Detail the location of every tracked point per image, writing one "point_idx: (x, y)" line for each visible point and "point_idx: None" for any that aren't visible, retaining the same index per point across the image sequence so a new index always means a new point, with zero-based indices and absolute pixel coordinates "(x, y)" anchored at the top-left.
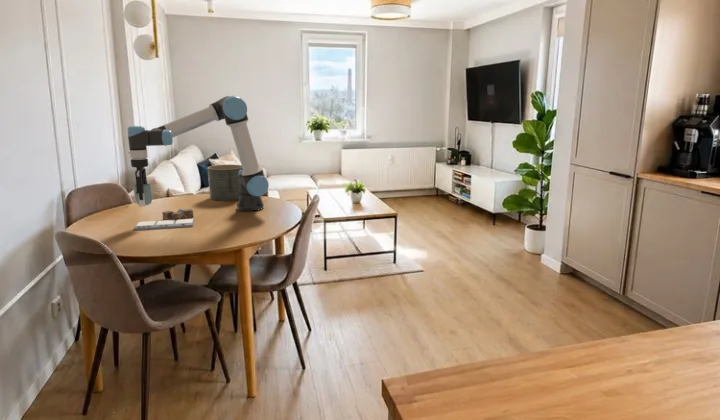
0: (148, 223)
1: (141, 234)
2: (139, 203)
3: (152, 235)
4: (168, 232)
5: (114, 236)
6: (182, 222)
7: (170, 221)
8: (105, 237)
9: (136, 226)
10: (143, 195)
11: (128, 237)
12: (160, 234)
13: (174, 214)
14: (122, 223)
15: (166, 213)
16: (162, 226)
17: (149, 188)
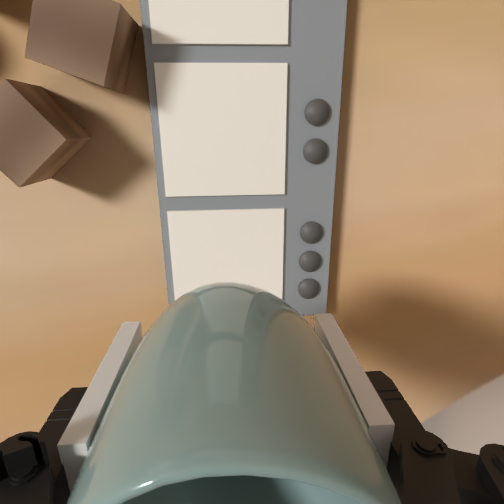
0: (231, 250)
1: (428, 248)
2: None
3: (479, 180)
4: (450, 82)
5: (412, 371)
6: None
7: (205, 95)
8: (414, 403)
9: None
10: (377, 404)
11: (462, 303)
12: (477, 132)
13: (111, 58)
14: None
15: (64, 142)
16: (333, 140)
17: (315, 413)
